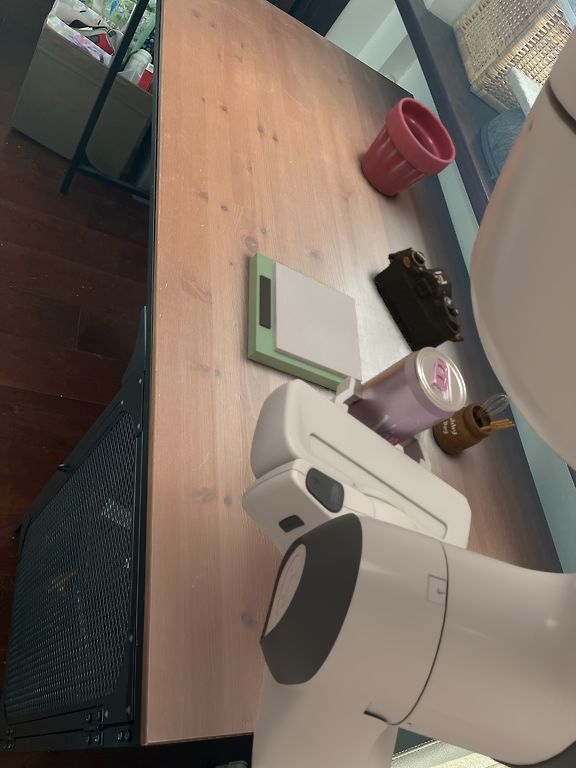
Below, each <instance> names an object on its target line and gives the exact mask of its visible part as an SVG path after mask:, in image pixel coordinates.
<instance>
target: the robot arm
mask: <svg viewBox="0 0 576 768" xmlns="http://www.w3.org/2000/svg"><path fill="white" fill-rule="evenodd" d="M521 125H522V126H521V127H520V129H519V131H518V133H517V136H516V138H515V140H514V142H513V143H512V145H511V148H510V150H509V152H508V154H507V156H506V159H505V161H504V163H503V166H502V167H501V170H500V173H499V175H498V177H497V180H496V182H495V184H494V187H493V189H492V192H491V194H490V197H489V200H488V203H487V205H486V208H485V210H484V213H483V216H482V219H481V221H480V224H479V227H478V230H477V233H476V237H475V239H474V243H473V247H472V250H471V254H470V261H469V283H470V285H469V286H470V300H471V306H472V314H473V319H474V322H475V327H476V330H477V333H478V337H479V339H480V340H479V341H480V343H481V346H482V348H483V349H482V350H483V351H484V354H485V356H486V359H487V361H488V362H489V364H490V366H491V369H492V371H493V373H494V375H495V377H496V378H497V380H498V382H499V384H500V386H501V388H502V389H503V391H504V392H505V394H506V396H507V398H508V400H510V402H511V404H513V406H514V408H515V409H516V411H517V412H518V413H519V414H520V416H521V418H522V419H523V420H524V421H525V423H527V425H528V426H529V427H530V429H531V430H532V431H533V432H534V433H535V434H536V435H537V436H538V438H539V439H540V440H541V441H542V442H543V443H544V444H545V445H546V446H547V447H548V448H549V449H550V450H551V452H553V454H555V455H556V456H557V457H558V458H559V459H560V460H561V461H562V462H564V463H565V464H566V465H567V466H568V467H570V468H571V469H572V470H573V471H575V472H576V24H575V25H574V26H573V28H572V30H571V32H570V34H569V36H568V38H567V40H566V41H565V44H564V45H563V47H562V49H561V51H560V53H559V54H558V56H557V57H556V59H555V62H554V63H553V65H552V68H551V69H550V72H549V75H548V77H547V78H546V79H545V81H544V83H543V85H542V87H541V88H540V90H539V93H538V94H537V96H536V97H535V100H534V102H533V104H532V106H531V107H530V109H529V112H528V114H527V116H526V118H525V119H524V121H523V123H522V124H521ZM362 384H363V383H362V382H361V383H360V382H358V381H357V380H356V379H354V378H353V377H352V376H349V377H347V378H346V379H344V380H343V381H341V382H340V384H339V385H338V388H337V391H335V394H334V395H335V396H334V397H332V398H331V399H329V398H327V397H326V396H325V395H323V394H322V393H320V392H319V391H318V390H317V389H316V388H314V387H312V386H311V385H309V384H308V383H307V382H305V381H304V380H302V379H301V378H300V379H299V378H296V379H292V380H290V381H287V382H285V383H283V384H281V385H279V386H278V387H277V388H275V389H274V390H273V391H272V392H271V393H270V394H268V396H267V397H266V398H265V400H264V401H263V403H262V406H261V408H260V411H259V414H258V418H257V420H256V425H255V428H254V433H253V437H252V442H251V447H250V457H249V458H250V459H249V460H250V461H249V462H250V469H251V471H252V474H253V476H254V478H255V479H256V480H254V481H253V482H252V483H250V485H248V486H247V488H245V490H244V491H243V495H242V498H241V499H242V500H241V506H242V509H243V510H244V512H245V513H246V514H247V515H248V517H249V518H250V519H251V520H252V521H253V522H254V523H255V524H256V525H257V526H258V528H259V529H261V530H262V533H264V534H265V535H266V536H267V537H268V538H269V540H270V542H272V543H273V544H274V546H275V547H276V548H277V550H278V551H279V552H280V554H281V555H282V559H281V562H280V565H279V567H278V570H277V574H276V577H275V581H274V585H273V590H272V593H271V597H270V600H269V605H268V608H267V612H266V616H265V619H264V624H263V628H262V632H261V635H260V638H259V641H258V643H259V647H260V649H261V652H262V655H263V657H264V661H265V663H264V667H263V672H262V678H261V683H260V688H259V696H258V701H257V707H256V716H255V723H254V731H253V740H252V750H251V751H252V752H251V768H391V766H392V762H393V757H394V753H395V748H396V744H397V743H396V742H397V737H398V733H399V732H398V731H399V729H402V730H405V731H408V732H411V733H415V734H418V735H421V736H424V737H426V738H430V739H433V740H436V741H439V742H442V743H444V744H447V745H450V746H454V747H456V748H460V749H463V750H466V751H469V752H472V753H475V754H479V755H482V756H485V757H487V758H490V759H491V760H493V761H494V762H496V763H499V764H501V765H503V766H505V767H507V768H576V572H573V573H571V572H570V573H565V572H564V573H561V572H547V571H542V570H535V569H530V568H526V567H522V566H518V565H515V564H512V563H509V562H506V561H503V560H500V559H497V558H495V557H491V556H488V555H485V554H482V553H479V552H477V551H473V550H470V549H467V547H468V542H469V537H470V530H471V525H472V524H471V523H472V510H471V507H470V504H469V502H468V499H467V497H466V496H465V495H463V494H462V493H461V492H459V491H458V490H457V489H455V488H454V487H452V486H451V485H449V484H448V483H447V482H446V481H444V480H443V479H442V478H440V477H438V476H437V475H436V474H434V473H432V467H433V466H432V462H431V460H430V457H429V455H428V452H427V448H426V446H425V444H424V439H425V431H423V432H421V433H419V434H417V435H415V436H413V437H411V438H409V439H407V440H405V441H403V442H401V443H400V444H398V445H399V446H401V447H402V450H403V451H402V450H400V449H399V448H397V446H393V445H392V444H391V443H389V442H388V441H386V440H385V439H384V438H382V437H381V436H379V435H378V434H377V433H375V432H374V431H372V430H371V429H370V428H368V427H367V426H365V425H364V424H363V423H361V422H360V421H358V420H357V419H356V418H354V417H353V416H351V415H350V414H349V413H347V412H348V408H349V406H351V405H352V404H353V402H357V401H359V400H360V399H361V398H362V390H363V387H364V386H363V385H362Z"/></svg>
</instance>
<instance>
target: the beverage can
mask: <svg viewBox="0 0 576 768" xmlns="http://www.w3.org/2000/svg"><path fill="white" fill-rule="evenodd" d="M361 384H362V385H363V386H364V387H363V390H362V398H361V399H360V400H359V401H357V402H353V404H352V405H351V406H349V408H348V412H347V413H349V414H350V415H351V416H353V417H354V418H356V419H357V420H358V421H360V422H361V423H363V424H364V425H365V426H367V427H368V428H370V429H371V430H372V431H374V432H375V433H377V434H378V435H379V436H381V437H382V438H384V439H385V440H386V441H388V442H389V443H391V444H392V445H393V446H395V447H397V445H399V444H400V443H401V442H403V441H405V440H407V439H409V438H411V437H413V436H415V435H417V434H419V433H421V432H423V431H424V432H425V431H427V430H428V429H430V428H433V426H435V425H437V424H439V423H441V422H443V421H445V420H446V419H448V418H450V417H452V416H453V415H454V414H455V413H456V412H457V411H459V410H460V409H462V408H463V407H465V405H466V402H467V396H468V395H467V388H466V384H465V380H464V378H463V375H462V374H461V372H460V370H459V368H458V367H457V365H456V364H455V362H454V361H453V360H452V359H451V358H450V357H449V356H448V355H447V354H446V353H444V352H443V351H441V350H440V349H438V348H437V347H436V348H433V347H425V348H423V349H421V350H420V351H415V352H414V351H412V352H411V353H409V354H407V355H405V356H404V357H402V358H401V359H399V360H398V361H396V362H394V363H392V365H390V366H388V367H387V368H385V369H384V370H382V371H381V372H379V373H377V374H376V375H375V376H372V377H371V378H370V379H368V380H366V381H365V382H364V383H361Z"/></svg>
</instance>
